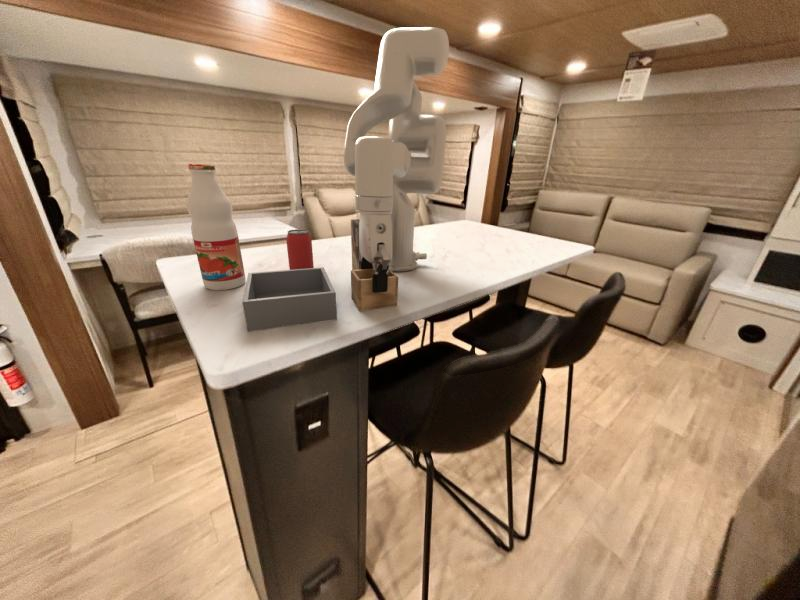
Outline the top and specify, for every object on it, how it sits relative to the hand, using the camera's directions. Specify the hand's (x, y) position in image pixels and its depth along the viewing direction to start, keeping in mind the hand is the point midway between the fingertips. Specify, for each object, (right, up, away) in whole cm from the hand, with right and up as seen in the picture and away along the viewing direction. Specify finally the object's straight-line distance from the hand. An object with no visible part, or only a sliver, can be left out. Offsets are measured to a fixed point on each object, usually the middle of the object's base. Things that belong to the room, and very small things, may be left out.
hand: (373, 284), depth 69 cm
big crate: (-18, -5, -2) cm, 18 cm away
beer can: (-22, +4, +19) cm, 29 cm away
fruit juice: (-38, 0, +9) cm, 39 cm away
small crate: (0, -4, +2) cm, 5 cm away
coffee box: (-3, +1, +15) cm, 16 cm away
